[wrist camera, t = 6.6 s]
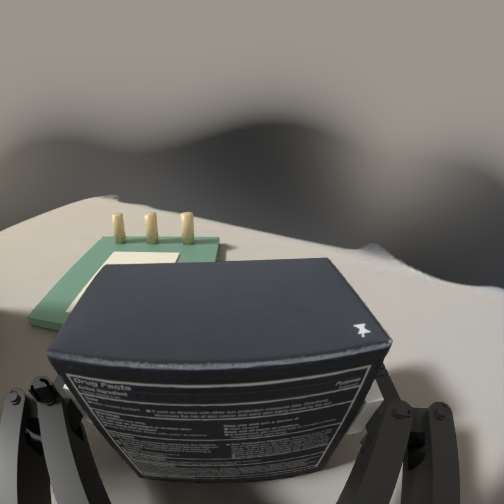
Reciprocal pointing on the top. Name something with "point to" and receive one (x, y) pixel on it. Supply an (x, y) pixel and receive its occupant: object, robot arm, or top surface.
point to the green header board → (122, 252)
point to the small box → (221, 365)
